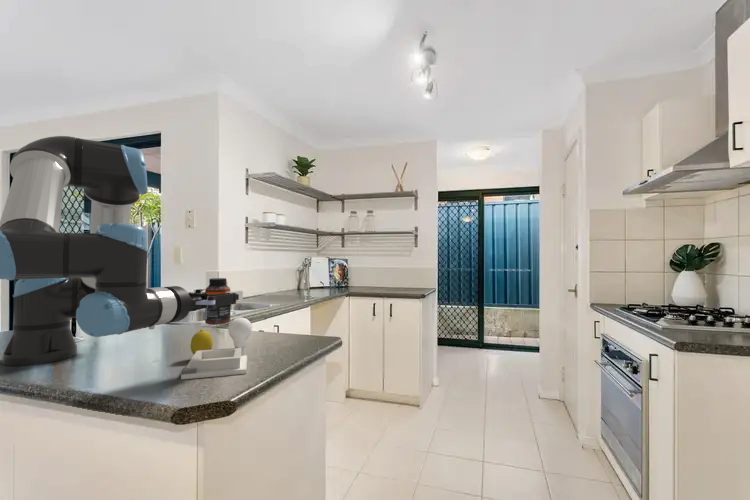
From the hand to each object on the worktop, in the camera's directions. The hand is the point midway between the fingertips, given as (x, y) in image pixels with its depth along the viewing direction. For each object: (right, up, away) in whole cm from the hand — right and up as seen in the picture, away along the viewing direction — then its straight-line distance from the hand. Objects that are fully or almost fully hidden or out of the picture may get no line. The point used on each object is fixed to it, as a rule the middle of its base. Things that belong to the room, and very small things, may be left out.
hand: (230, 295), depth 97 cm
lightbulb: (0, -18, +6) cm, 19 cm away
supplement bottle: (-1, -7, -5) cm, 8 cm away
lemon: (-9, -18, +3) cm, 21 cm away
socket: (-1, -18, -6) cm, 19 cm away
